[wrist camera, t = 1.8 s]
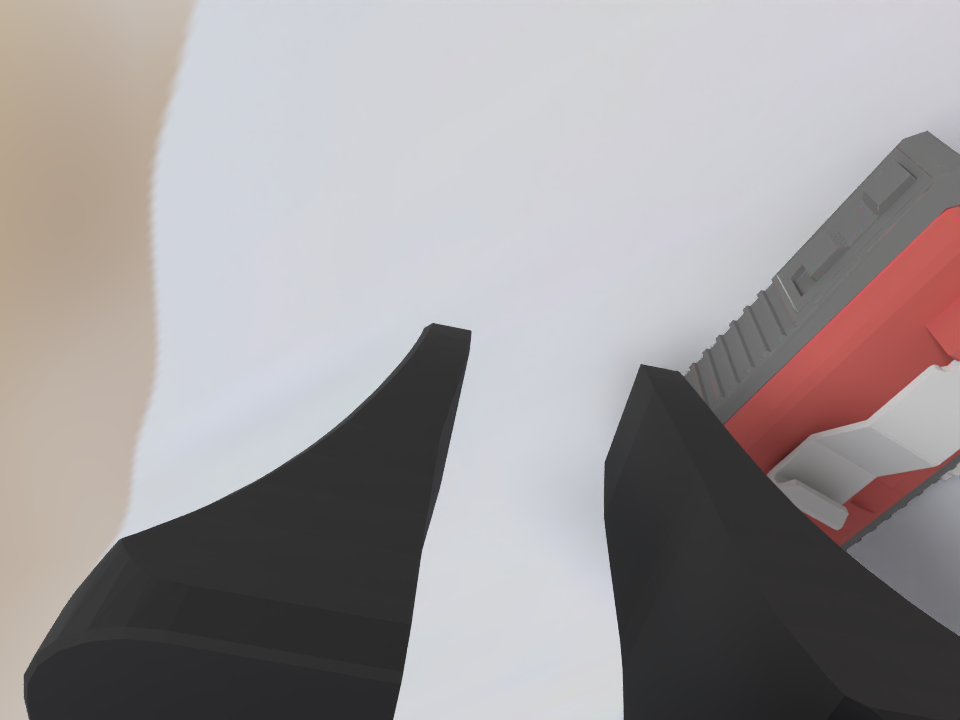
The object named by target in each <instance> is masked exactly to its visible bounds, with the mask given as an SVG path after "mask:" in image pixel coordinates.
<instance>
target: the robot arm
mask: <svg viewBox="0 0 960 720" xmlns="http://www.w3.org/2000/svg"><path fill="white" fill-rule="evenodd" d="M470 342H471V331H470V330H465V329H460V328H455V327H450V326H445V325H440V324H435V323H432V324H430V325H429V326H427V327H425V328H424V330H423V332H422V334H421V336H420V337H419V339H418V340H417V342H416V343H415V345H414V346H413V348H412V349H411V350H410V352H409V353H408V354H407V355H406V357H405V358H404V359H403V360H402V362H401V363H400V364H399V365H398V366H397V368H396V369H395V370H394V371H393V372H392V373H391V374H390V375H389V376H388V378H387V379H386V380H385V381H384V382H383V383H382V384H381V385H380V386H379V387H378V388H377V389H376V390H375V391H374V392H373V393H372V394H371V395H370V396H369V397H368V398H367V399H366V400H365V401H364V402H363V403H362V404H361V405H360V406H359V407H357V408H356V409H355V410H354V411H353V412H352V413H351V414H350V415H349V416H348V417H347V418H345V419H344V420H343V421H342V422H341V423H340V424H338V425H337V426H336V427H335V428H334V429H332V430H331V431H330V432H328V433H327V434H326V435H325V436H323V437H322V438H321V439H319V440H318V441H317V442H315V443H314V444H313V445H311V446H310V447H308V448H307V449H306V450H304V451H303V452H301V453H300V454H298V455H297V456H295V457H294V458H292V459H290V460H289V461H287V462H286V463H284V464H283V465H281V466H280V467H278V468H277V469H275V470H274V471H272V472H270V473H268V474H267V475H265V476H263V477H262V478H260V479H258V480H257V481H255V482H253V483H251V484H249V485H247V486H245V487H243V488H241V489H239V490H237V491H235V492H233V493H231V494H229V495H227V496H226V497H224V498H222V499H220V500H218V501H216V502H214V503H212V504H210V505H208V506H205V507H203V508H201V509H198V510H196V511H194V512H191V513H189V514H186V515H184V516H181V517H178V518H176V519H173V520H171V521H168V522H165V523H163V524H160V525H157V526H155V527H152V528H150V529H147V530H144V531H142V532H139V533H136V534H133V535H130V536H127V537H124V538H122V539H120V540H118V542H117V543H116V544H115V545H114V546H113V547H112V548H111V549H110V551H109V552H108V553H107V554H106V555H105V556H104V558H103V559H102V560H101V561H100V562H99V564H98V565H97V566H96V567H95V568H94V569H93V571H92V572H91V573H90V575H89V576H88V577H87V578H86V579H85V581H84V582H83V583H82V584H81V585H80V586H79V588H78V589H77V590H76V591H75V593H74V594H73V595H72V597H71V598H70V600H69V601H68V603H67V604H66V606H65V607H64V608H63V610H62V611H61V613H60V615H59V617H58V618H57V620H56V621H55V623H54V625H53V626H52V628H51V629H50V631H49V633H48V634H47V636H46V638H45V639H44V641H43V642H42V644H41V646H40V648H39V649H38V651H37V652H36V654H35V656H34V658H33V660H32V662H31V663H30V665H29V667H28V669H27V670H26V672H25V674H24V700H25V704H26V708H27V712H28V717H29V720H393V718H394V713H395V709H396V704H397V700H398V695H399V691H400V686H401V681H402V676H403V671H404V665H405V659H406V653H407V647H408V641H409V636H410V630H411V624H412V616H413V609H414V602H415V595H416V588H417V581H418V574H419V567H420V560H421V554H422V549H423V545H424V542H425V538H426V535H427V531H428V528H429V524H430V521H431V517H432V514H433V510H434V507H435V503H436V500H437V496H438V493H439V489H440V485H441V481H442V476H443V471H444V467H445V462H446V458H447V453H448V448H449V444H450V439H451V434H452V430H453V425H454V421H455V416H456V411H457V407H458V402H459V398H460V393H461V388H462V384H463V379H464V375H465V370H466V365H467V361H468V356H469V351H470ZM604 520H605V529H606V537H607V545H608V553H609V561H610V569H611V576H612V584H613V591H614V599H615V606H616V614H617V621H618V629H619V636H620V644H621V656H622V667H623V702H624V720H960V636H958V635H957V634H955V633H954V632H952V631H951V630H949V629H948V628H946V627H944V626H943V625H941V624H940V623H939V622H937V621H936V620H934V619H933V618H931V617H930V616H929V615H927V614H926V613H924V612H923V611H922V610H920V609H919V608H917V607H916V606H914V605H913V604H912V603H910V602H909V601H908V600H906V599H905V598H904V597H902V596H901V595H900V594H898V593H897V592H896V591H895V590H893V589H892V588H891V587H889V586H888V585H887V584H885V583H884V582H883V581H882V580H880V579H879V578H878V577H876V576H875V575H874V574H872V573H871V572H870V571H869V570H867V569H866V568H865V567H864V566H862V565H861V564H860V563H859V562H858V561H856V560H855V559H854V558H853V557H851V556H850V555H849V554H848V553H847V552H846V551H844V550H843V549H842V548H841V547H840V546H839V545H838V544H837V543H835V542H834V541H833V540H832V539H831V538H830V537H829V536H828V535H827V534H825V533H824V532H823V531H822V530H821V529H820V528H819V527H818V526H817V525H815V524H814V523H813V522H812V521H811V520H810V519H809V518H808V517H807V516H806V515H805V514H804V513H803V512H802V511H801V510H800V509H799V508H797V507H796V506H795V505H794V504H793V502H792V501H791V500H790V499H789V498H788V497H787V496H786V495H785V494H784V493H783V492H782V491H781V490H780V489H779V488H778V487H777V486H776V485H775V484H774V483H773V482H772V480H771V479H770V478H769V477H768V476H767V475H766V474H765V473H764V472H763V471H762V470H761V469H760V467H759V466H758V465H757V464H756V463H755V462H754V461H753V460H752V458H751V457H750V456H749V455H748V454H747V453H746V452H745V450H744V449H743V448H742V447H741V446H740V444H739V443H738V442H737V441H736V440H735V439H734V437H733V436H732V435H731V434H730V433H729V431H728V430H727V429H726V428H725V426H724V425H723V424H722V423H721V422H720V420H719V419H718V418H717V417H716V415H715V414H714V413H713V412H712V410H711V409H710V408H709V407H708V405H707V404H706V403H705V402H704V400H703V399H702V398H701V397H700V396H699V394H698V393H697V392H696V391H695V389H694V388H693V387H692V386H691V385H690V383H689V382H688V381H687V380H686V379H685V378H684V377H683V375H682V374H681V373H680V372H678V371H673V370H668V369H663V368H658V367H653V366H647V365H642V364H641V365H640V368H639V371H638V373H637V376H636V379H635V382H634V384H633V387H632V390H631V392H630V395H629V398H628V401H627V403H626V406H625V409H624V412H623V414H622V417H621V420H620V422H619V425H618V428H617V431H616V433H615V436H614V439H613V441H612V444H611V447H610V450H609V452H608V455H607V458H606V460H605V474H604Z"/></svg>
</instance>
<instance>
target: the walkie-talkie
mask: <svg viewBox="0 0 960 720" xmlns="http://www.w3.org/2000/svg"><path fill="white" fill-rule="evenodd" d="M772 281H773V283H772V284H771V285H770V286H769V288H768V289H767V290H766V291H762V290H761V291H760V292H759V293H758V294H757V296H758V299H757V300H756V301H755V302H754V303H753V304H752V306H746V307H745V308H744V309H743V311H744V314H743V315H742V316H741V317H740V318H739V319H738V320H737V321H734V320H733V321H732V322H731V323H730V324H729V326H730V329H729V330H728V331H727V332H726V333H725V334H724V335H719V336H718V337H717V338H716V341H717V343H716V344H715V345H714V346H713V347H712V348H711V349H710V350H709V349H706V350H705V351H704V352H703V358H702V359H701V360H700V361H699V362H698V363H693V364H692V365H691V366H690V369H691V370H690V371H689V372H688V373H687V374H686V376H685V377H684V376H683V377H684V378H685V379H686V380H687V381H688V382H689V383H690V385H691V386H692V387H693V388H694V389H695V391H696V392H697V393H698V394H699V396H700V397H701V398H702V399H703V400H704V402H705V403H706V404H707V405H708V407H709V408H710V409H711V410H712V412H713V413H714V414H715V415H716V417H717V418H718V419H719V420H720V422H721V423H722V424H723V425H724V426H725V428H726V429H727V430H728V431H729V433H730V434H731V435H732V436H733V437H734V439H735V440H736V441H737V442H738V443H739V444H740V446H741V447H742V448H743V449H744V450H745V452H746V453H747V454H748V455H749V456H750V457H751V458H752V460H753V461H754V462H755V463H756V464H757V465H758V466H759V467H760V469H761V470H762V471H763V472H764V473H765V474H766V475H767V476H768V477H769V478H770V479H771V480H772V482H773V483H774V484H775V485H776V486H777V487H778V488H779V489H780V490H781V491H782V492H783V493H784V494H785V495H786V496H787V497H788V498H789V499H790V500H791V501H792V502H793V504H794V505H795V506H796V507H797V508H799V509H800V510H801V511H802V512H803V513H804V514H805V515H806V516H807V517H808V518H809V519H810V520H811V521H812V522H813V523H814V524H815V525H817V526H818V527H819V528H820V529H821V530H822V531H823V532H824V533H825V534H827V535H828V536H829V537H830V538H831V539H832V540H833V541H834V542H835V543H837V544H838V545H839V546H840V547H841V548H842V549H843V550H844V551H847V549H848V548H849V547H850V546H851V545H853V544H854V543H857V542H859V541H860V540H861V538H862V537H863V536H864V535H866V534H867V533H868V532H871V531H873V530H875V529H876V526H878V525H879V524H880V523H881V522H883V521H884V520H888V519H889V518H890V517H891V515H892V514H893V513H894V512H896V511H897V510H898V509H900V508H903V507H905V506H906V505H907V503H908V502H909V501H910V500H911V499H913V498H914V497H915V496H919V495H920V494H922V493H923V490H924V489H926V488H927V487H928V486H930V485H931V484H933V483H936V482H937V481H939V480H940V479H939V478H941V479H943V480H945V481H946V480H948V479H949V478H950V477H952V476H960V155H959V154H958V153H957V152H955V151H954V150H952V149H951V148H950V147H948V146H947V145H946V144H944V143H943V142H942V141H940V140H939V139H938V138H936V137H935V136H934V135H932V134H931V133H929V132H928V131H926V132H923V133H920V134H917V135H914V136H911V137H908V138H905V139H903V140H902V141H901V142H900V143H899V144H898V145H897V146H896V147H895V148H894V149H893V151H892V152H891V153H890V154H889V155H888V156H887V157H886V158H885V159H884V160H883V161H882V162H881V163H880V164H879V165H878V166H877V168H876V169H875V170H874V171H873V172H872V173H871V174H870V175H869V176H868V177H867V178H866V179H865V180H864V181H863V182H862V184H861V185H860V186H859V187H858V188H857V189H856V190H855V191H854V192H853V193H852V194H851V195H850V196H849V197H848V198H847V199H846V201H845V202H844V203H843V204H842V205H841V206H840V207H839V208H838V209H837V210H836V211H835V212H834V213H833V214H832V215H831V217H830V218H829V219H828V220H827V221H826V222H825V223H824V224H823V225H822V226H821V227H820V228H819V229H818V230H817V231H816V233H815V234H814V235H813V236H812V237H811V238H810V239H809V240H808V241H807V242H806V243H805V244H804V245H803V246H802V247H801V248H800V250H799V251H798V252H797V253H796V254H795V255H794V256H793V257H792V258H791V259H790V260H789V261H788V262H787V263H786V264H785V266H784V267H783V268H782V269H781V270H780V271H779V272H778V273H777V274H776V275H775V276H774V277H773V278H772Z"/></svg>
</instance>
